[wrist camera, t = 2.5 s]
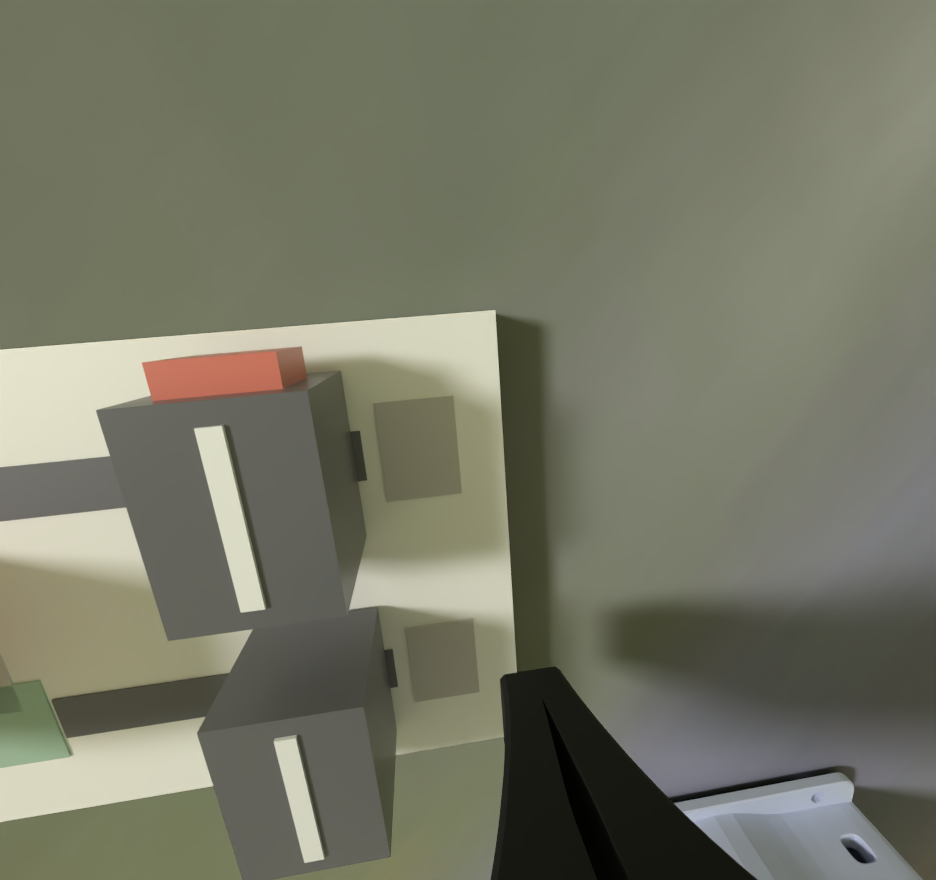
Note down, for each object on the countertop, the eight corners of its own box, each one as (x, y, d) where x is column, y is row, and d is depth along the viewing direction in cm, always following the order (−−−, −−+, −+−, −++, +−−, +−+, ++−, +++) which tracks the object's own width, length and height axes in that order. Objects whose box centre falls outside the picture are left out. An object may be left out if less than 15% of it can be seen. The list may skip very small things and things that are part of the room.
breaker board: (486, 312, 11) (495, 309, 10) (512, 700, 14) (520, 735, 13) (-355, 379, 9) (-472, 387, 8) (-110, 800, 12) (-167, 852, 11)
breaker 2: (377, 606, 11) (363, 709, 8) (397, 729, 12) (390, 860, 9) (255, 623, 11) (194, 736, 8) (286, 748, 12) (242, 888, 9)
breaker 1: (336, 341, 9) (298, 350, 6) (366, 536, 10) (346, 618, 8) (189, 354, 9) (79, 369, 6) (238, 552, 10) (165, 644, 7)
